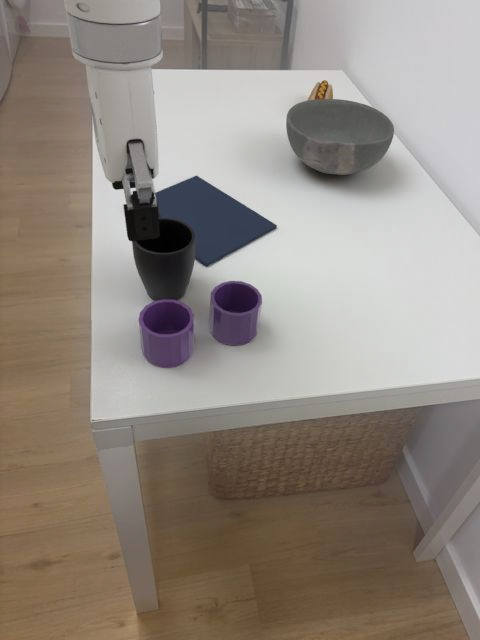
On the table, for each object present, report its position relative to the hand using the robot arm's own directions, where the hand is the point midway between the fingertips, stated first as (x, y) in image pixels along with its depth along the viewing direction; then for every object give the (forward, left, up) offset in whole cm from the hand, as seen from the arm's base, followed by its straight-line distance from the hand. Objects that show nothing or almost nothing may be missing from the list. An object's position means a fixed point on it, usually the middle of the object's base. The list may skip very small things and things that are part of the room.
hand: (135, 211), depth 57 cm
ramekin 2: (+7, +9, -18) cm, 22 cm away
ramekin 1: (+4, 0, -18) cm, 19 cm away
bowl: (-12, +55, -18) cm, 59 cm away
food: (-30, +73, -18) cm, 81 cm away
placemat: (-15, +23, -18) cm, 33 cm away
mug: (-6, +8, -18) cm, 21 cm away
